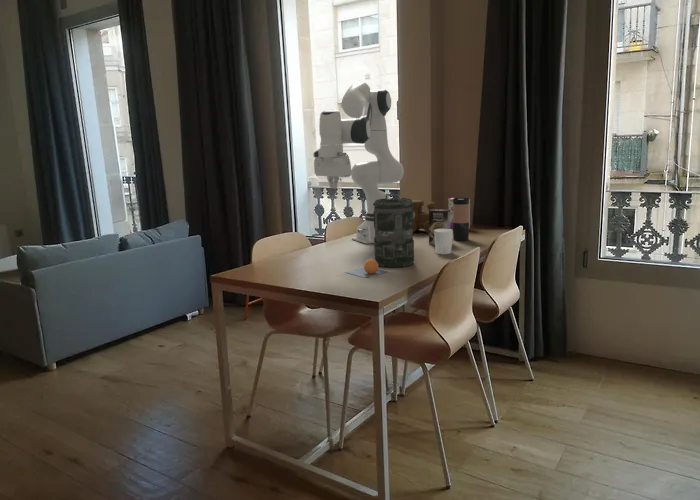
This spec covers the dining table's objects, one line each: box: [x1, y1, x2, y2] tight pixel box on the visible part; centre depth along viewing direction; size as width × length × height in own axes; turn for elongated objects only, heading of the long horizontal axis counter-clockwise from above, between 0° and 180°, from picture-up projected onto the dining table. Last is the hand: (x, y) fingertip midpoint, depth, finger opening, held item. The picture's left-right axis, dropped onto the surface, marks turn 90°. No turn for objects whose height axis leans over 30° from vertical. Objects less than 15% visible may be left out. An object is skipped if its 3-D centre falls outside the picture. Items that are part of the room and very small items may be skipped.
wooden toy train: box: [411, 199, 437, 234], centre depth 283 cm, size 20×11×17 cm, turn 66°
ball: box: [363, 259, 380, 274], centre depth 200 cm, size 6×6×6 cm
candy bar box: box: [447, 197, 471, 230], centre depth 288 cm, size 11×5×16 cm, turn 46°
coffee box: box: [428, 208, 450, 246], centre depth 250 cm, size 9×6×16 cm
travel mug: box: [452, 197, 470, 242], centre depth 257 cm, size 8×8×20 cm
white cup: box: [434, 229, 453, 255], centre depth 231 cm, size 8×8×10 cm
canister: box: [373, 193, 415, 268], centre depth 213 cm, size 16×16×28 cm
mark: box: [344, 267, 390, 279], centre depth 203 cm, size 12×12×1 cm
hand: (333, 188), depth 211 cm, fingers closed
